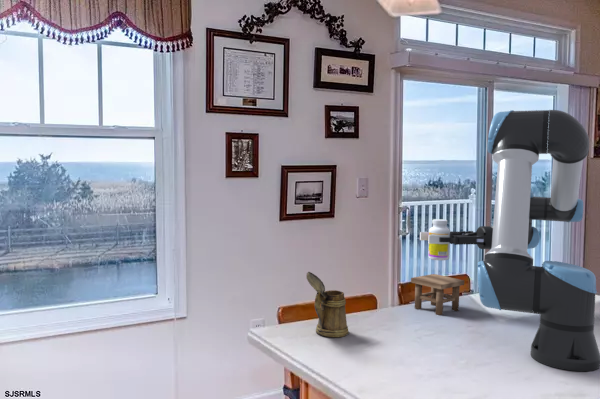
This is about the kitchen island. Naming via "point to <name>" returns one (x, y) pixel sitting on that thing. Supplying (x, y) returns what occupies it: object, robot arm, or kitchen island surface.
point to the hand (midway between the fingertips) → (424, 237)
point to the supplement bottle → (439, 250)
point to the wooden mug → (329, 309)
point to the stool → (437, 291)
